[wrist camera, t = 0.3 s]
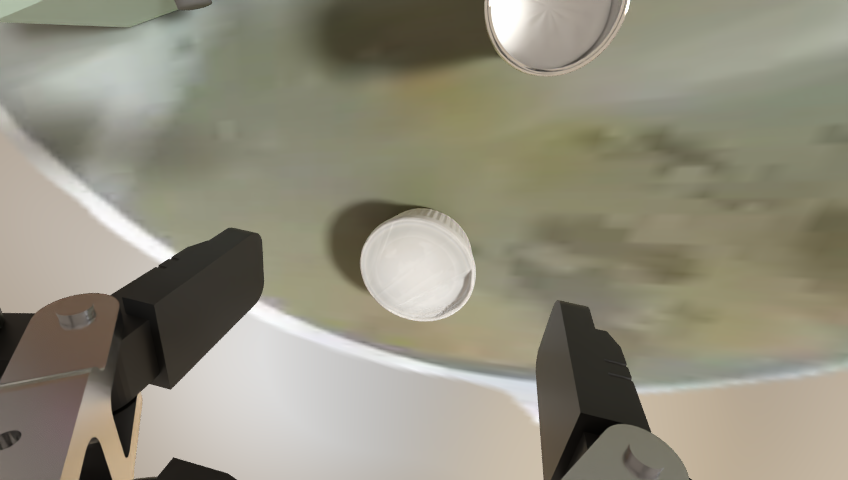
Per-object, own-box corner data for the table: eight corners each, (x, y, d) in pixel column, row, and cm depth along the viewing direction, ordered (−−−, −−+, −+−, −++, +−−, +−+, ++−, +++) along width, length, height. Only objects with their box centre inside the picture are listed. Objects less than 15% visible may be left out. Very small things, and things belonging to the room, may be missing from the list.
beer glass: (563, 75, 34) (597, 97, 20) (481, 53, 34) (462, 60, 21) (600, -23, 30) (668, -73, 17) (509, -46, 31) (506, -112, 18)
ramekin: (451, 309, 46) (444, 340, 41) (361, 266, 46) (343, 291, 41) (499, 229, 41) (497, 253, 36) (397, 179, 40) (382, 197, 36)
